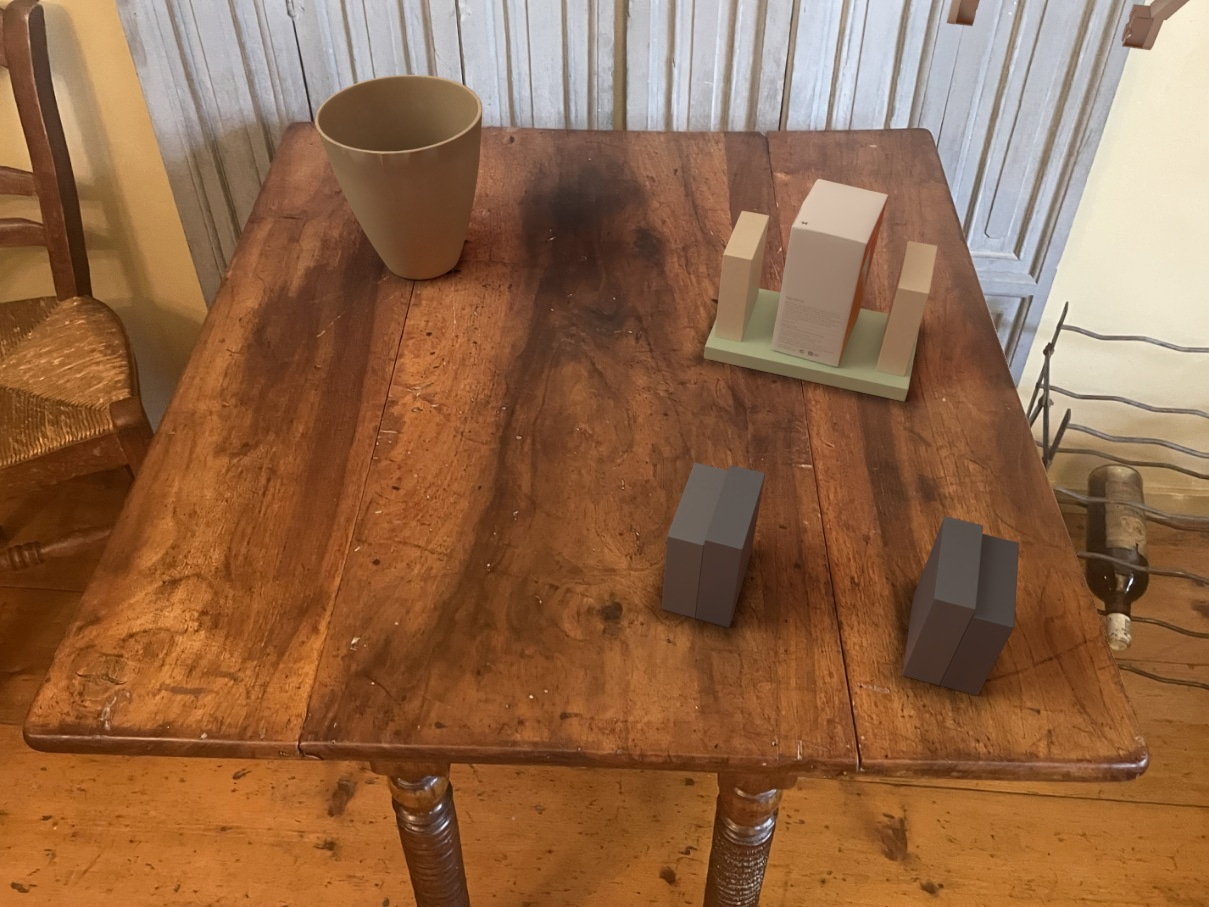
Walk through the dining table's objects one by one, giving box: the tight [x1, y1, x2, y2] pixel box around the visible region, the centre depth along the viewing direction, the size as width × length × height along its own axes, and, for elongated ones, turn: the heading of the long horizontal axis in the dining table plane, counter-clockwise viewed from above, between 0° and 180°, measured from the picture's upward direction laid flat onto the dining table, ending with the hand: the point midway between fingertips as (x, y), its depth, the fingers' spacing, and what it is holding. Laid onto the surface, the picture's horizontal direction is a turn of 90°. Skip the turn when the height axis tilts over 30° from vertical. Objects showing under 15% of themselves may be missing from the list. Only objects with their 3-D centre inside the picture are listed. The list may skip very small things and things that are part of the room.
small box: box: [771, 178, 889, 367], centre depth 85 cm, size 8×6×13 cm
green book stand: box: [703, 210, 938, 403], centre depth 87 cm, size 18×10×10 cm, turn 72°
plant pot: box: [314, 74, 483, 281], centre depth 94 cm, size 15×15×16 cm
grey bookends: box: [661, 462, 1020, 697], centre depth 67 cm, size 22×7×9 cm, turn 72°
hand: (1046, 32), depth 55 cm, fingers open, 8 cm apart
